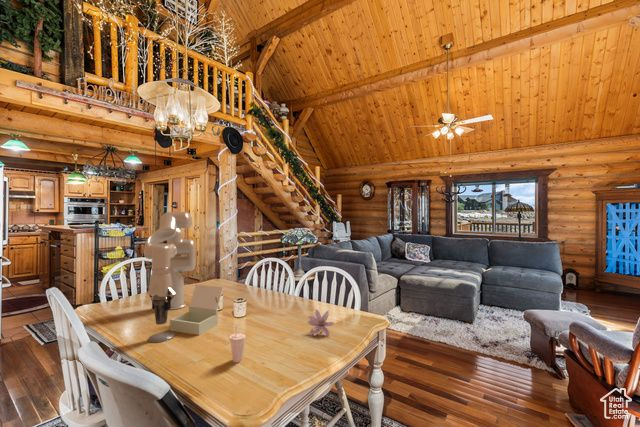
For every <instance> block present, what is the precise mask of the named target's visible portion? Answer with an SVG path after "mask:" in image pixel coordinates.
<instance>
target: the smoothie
mask: <svg viewBox="0 0 640 427" xmlns="http://www.w3.org/2000/svg"><path fill="white" fill-rule="evenodd" d="M246 336H247V335H246V334H245V333H241V332H239V333H238V325H237V324H235V333H233V334H231V335H229V340H228V341H229V343H230V348H231V355H232V361H233V363H241V362H242V361H243V359H244V350H245V343H246V342H245V341H246V339H247V338H246Z"/></svg>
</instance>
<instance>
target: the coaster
mask: <svg viewBox="0 0 640 427" xmlns="http://www.w3.org/2000/svg"><path fill="white" fill-rule="evenodd" d="M174 337H175V332H174V331H161V332H157V333H154V334H151V335H150V336H149V337H148V342H149V343H152V342H155V343H154V344H158V343H157V342H160V343H163V342H164V341H165V342H168V341H170V340H172V339H174ZM167 340H168V341H167Z"/></svg>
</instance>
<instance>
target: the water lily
mask: <svg viewBox="0 0 640 427" xmlns="http://www.w3.org/2000/svg"><path fill="white" fill-rule="evenodd" d="M314 313H315V316H313V315H308V319H309V320H308V321H307V324H308V325H310V326H312V327H313V328H311V330H310V331H309V333H308V336H312V335H313V336H317V335H318V334H319V333H320V331H321V332H322V334H324V336H325V337H327V338H330V337H331V336H330V332H329V329H328V327H332V326H333V325H335V323H334V322H333V321H328V318H329V315H330V313H329V310H326V311H325V312H324V314H322V315H321V313H320V311H319V310H318V309H315V312H314Z"/></svg>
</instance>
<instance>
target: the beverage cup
mask: <svg viewBox="0 0 640 427" xmlns="http://www.w3.org/2000/svg"><path fill="white" fill-rule="evenodd" d="M167 295H168V294H167ZM167 299H168V296H167ZM164 302H165V299H164V297H160V296H158V295H154V296H153V303H154V309H153V311H154V318H155V319H154V320H155V324H156V325H160V326H161V325H165V324H167V322H168V312H169V310H166V311H165V310H164Z"/></svg>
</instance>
